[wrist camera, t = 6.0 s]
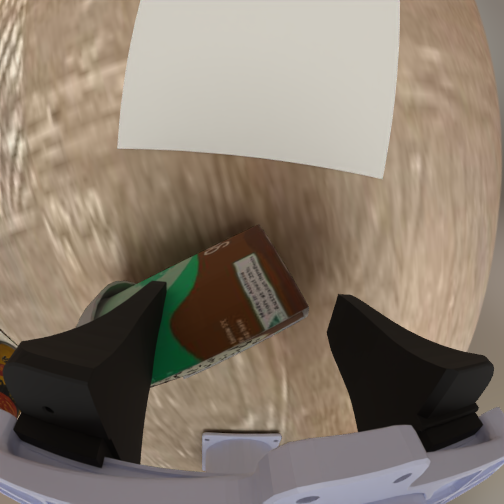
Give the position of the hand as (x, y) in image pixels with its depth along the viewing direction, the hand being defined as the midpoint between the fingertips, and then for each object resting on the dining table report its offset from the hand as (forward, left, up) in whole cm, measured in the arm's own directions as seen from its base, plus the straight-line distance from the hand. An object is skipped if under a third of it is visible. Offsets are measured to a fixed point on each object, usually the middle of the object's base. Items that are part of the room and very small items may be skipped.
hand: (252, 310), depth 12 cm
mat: (+13, 0, -7) cm, 14 cm away
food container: (+1, -2, -4) cm, 4 cm away
